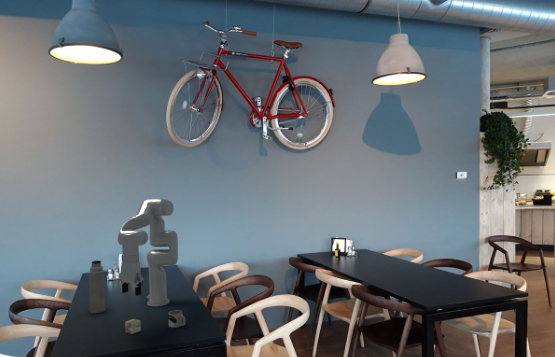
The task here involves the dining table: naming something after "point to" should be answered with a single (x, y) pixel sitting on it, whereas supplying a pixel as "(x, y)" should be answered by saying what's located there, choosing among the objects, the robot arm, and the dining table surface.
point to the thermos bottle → (97, 287)
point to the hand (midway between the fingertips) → (131, 293)
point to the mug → (176, 319)
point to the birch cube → (133, 326)
